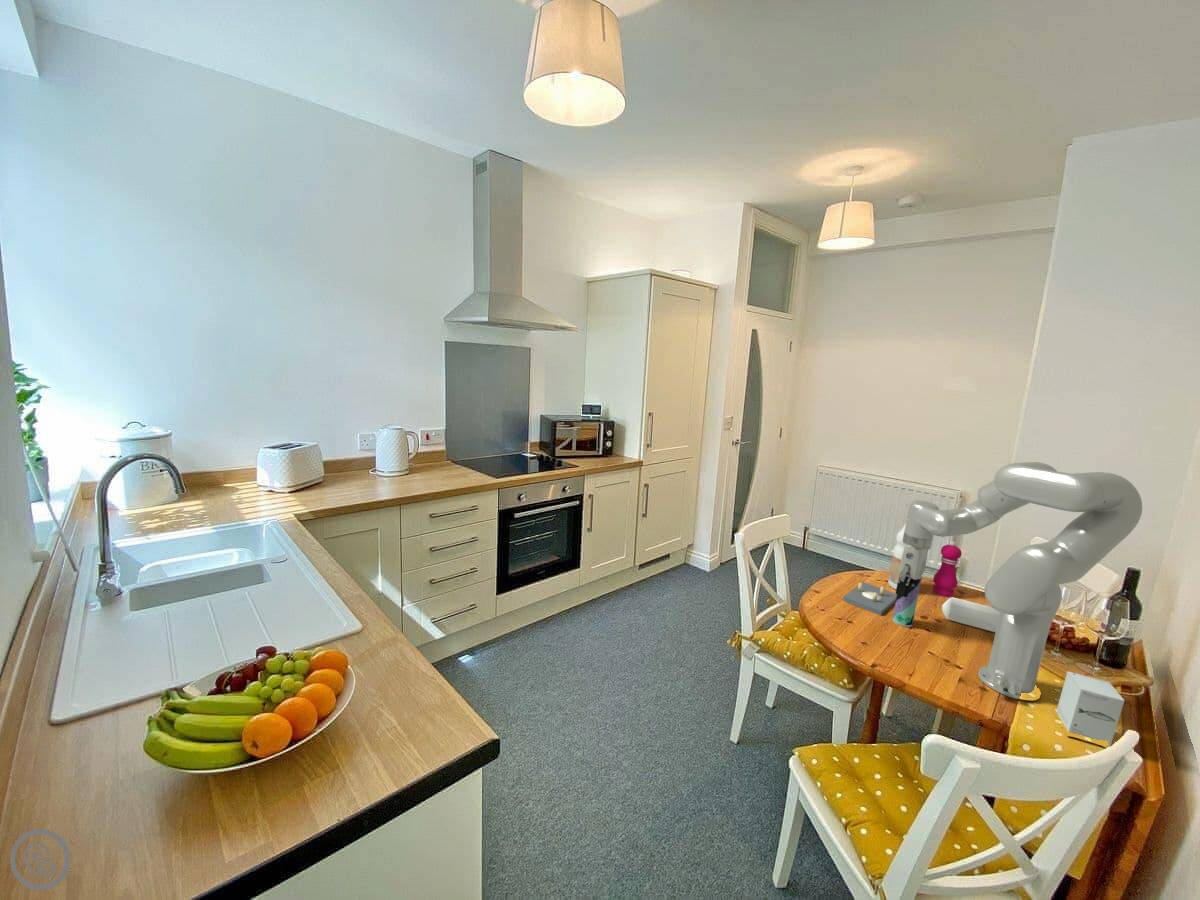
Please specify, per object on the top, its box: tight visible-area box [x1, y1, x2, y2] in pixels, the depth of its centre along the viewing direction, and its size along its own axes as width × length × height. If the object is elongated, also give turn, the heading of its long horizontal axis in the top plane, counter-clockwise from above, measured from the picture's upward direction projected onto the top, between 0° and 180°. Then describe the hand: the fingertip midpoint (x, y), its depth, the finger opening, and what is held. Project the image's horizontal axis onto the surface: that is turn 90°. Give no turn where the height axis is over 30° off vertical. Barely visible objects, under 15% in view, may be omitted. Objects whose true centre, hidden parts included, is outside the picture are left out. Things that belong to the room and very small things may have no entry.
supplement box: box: [1055, 670, 1125, 749], centre depth 107 cm, size 7×7×13 cm
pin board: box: [842, 581, 897, 616], centre depth 165 cm, size 18×12×4 cm, turn 132°
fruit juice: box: [887, 514, 908, 590], centre depth 173 cm, size 9×9×28 cm
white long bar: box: [941, 596, 1001, 633], centre depth 151 cm, size 7×7×24 cm
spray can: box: [892, 569, 923, 628], centre depth 150 cm, size 6×6×20 cm
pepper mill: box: [932, 541, 962, 598], centre depth 172 cm, size 7×7×20 cm
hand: (906, 590), depth 150 cm, fingers open, 9 cm apart
